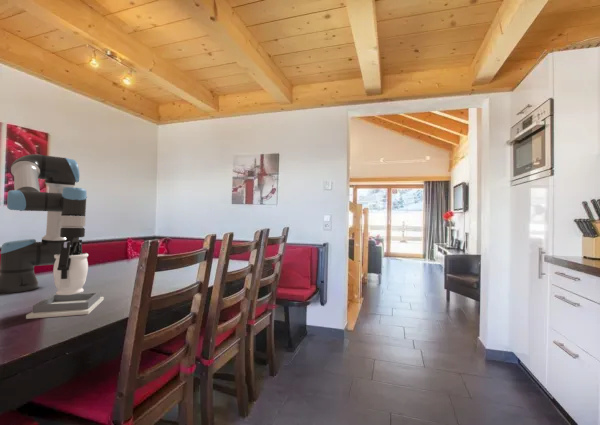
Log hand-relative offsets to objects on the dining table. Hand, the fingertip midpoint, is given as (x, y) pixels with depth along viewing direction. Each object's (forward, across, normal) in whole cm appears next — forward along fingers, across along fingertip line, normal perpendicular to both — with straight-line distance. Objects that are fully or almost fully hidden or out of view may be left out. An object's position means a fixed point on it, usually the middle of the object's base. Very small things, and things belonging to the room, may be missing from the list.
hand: (70, 284), depth 112 cm
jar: (+3, 0, 0) cm, 3 cm away
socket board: (+9, 0, 0) cm, 9 cm away
